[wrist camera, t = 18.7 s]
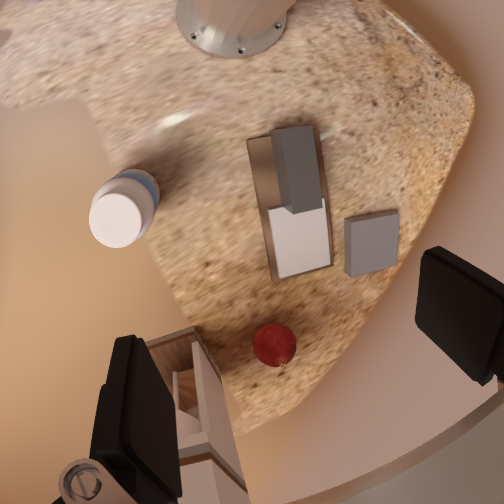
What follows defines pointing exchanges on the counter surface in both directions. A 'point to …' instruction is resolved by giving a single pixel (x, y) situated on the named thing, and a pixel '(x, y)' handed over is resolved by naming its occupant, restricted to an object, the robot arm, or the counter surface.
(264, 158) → the rest
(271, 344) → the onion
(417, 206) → the counter surface
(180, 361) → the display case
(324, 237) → the stepped grey white block
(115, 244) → the pill bottle
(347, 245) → the tile
